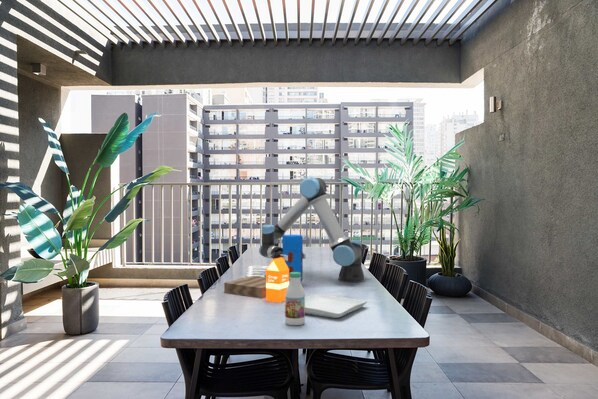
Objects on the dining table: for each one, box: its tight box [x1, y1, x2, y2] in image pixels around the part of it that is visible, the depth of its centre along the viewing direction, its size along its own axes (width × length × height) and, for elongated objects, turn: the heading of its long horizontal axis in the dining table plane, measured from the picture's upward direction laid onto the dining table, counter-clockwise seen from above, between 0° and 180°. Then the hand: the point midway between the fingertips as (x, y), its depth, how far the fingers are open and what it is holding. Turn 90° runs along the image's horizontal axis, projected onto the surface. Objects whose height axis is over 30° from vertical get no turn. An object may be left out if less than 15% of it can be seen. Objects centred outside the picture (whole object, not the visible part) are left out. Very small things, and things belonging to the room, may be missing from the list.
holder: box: [245, 265, 269, 278], centre depth 292 cm, size 45×18×3 cm, turn 171°
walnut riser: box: [223, 276, 266, 299], centre depth 245 cm, size 24×24×5 cm
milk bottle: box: [284, 272, 306, 326], centre depth 186 cm, size 8×8×20 cm
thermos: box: [282, 234, 304, 283], centre depth 257 cm, size 11×11×25 cm
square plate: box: [305, 293, 368, 319], centre depth 207 cm, size 27×27×4 cm
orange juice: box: [265, 257, 289, 303], centre depth 226 cm, size 8×9×20 cm
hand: (296, 257), depth 254 cm, fingers closed on thermos, 11 cm apart
